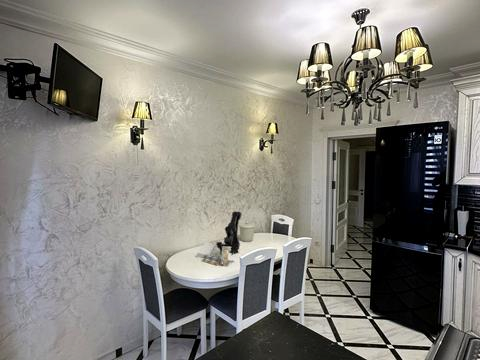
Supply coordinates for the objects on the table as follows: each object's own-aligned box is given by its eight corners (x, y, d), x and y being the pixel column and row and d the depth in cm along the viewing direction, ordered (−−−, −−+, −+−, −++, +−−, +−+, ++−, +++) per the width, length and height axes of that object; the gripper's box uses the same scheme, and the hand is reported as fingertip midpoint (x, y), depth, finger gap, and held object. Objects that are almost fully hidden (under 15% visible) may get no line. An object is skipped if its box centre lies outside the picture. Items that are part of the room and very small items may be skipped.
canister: (255, 238, 295) (255, 219, 294) (254, 243, 277) (255, 223, 276) (239, 237, 297) (239, 219, 296) (237, 242, 279) (238, 222, 278)
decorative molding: (214, 248, 266) (204, 245, 267) (215, 244, 265) (206, 241, 266) (207, 261, 232) (196, 257, 233) (208, 256, 232) (197, 252, 232)
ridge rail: (202, 261, 223) (202, 255, 223) (207, 259, 228) (207, 253, 228) (217, 265, 214) (217, 259, 214) (221, 263, 219) (221, 257, 219)
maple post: (226, 264, 217) (226, 249, 216) (229, 265, 214) (229, 250, 213) (222, 265, 214) (222, 250, 214) (225, 267, 211) (225, 251, 211)
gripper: (217, 232, 221) (213, 249, 211) (238, 233, 217) (235, 251, 207) (219, 239, 229) (215, 255, 219) (240, 240, 225) (237, 257, 215)
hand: (226, 254), depth 215 cm, fingers open, 9 cm apart
